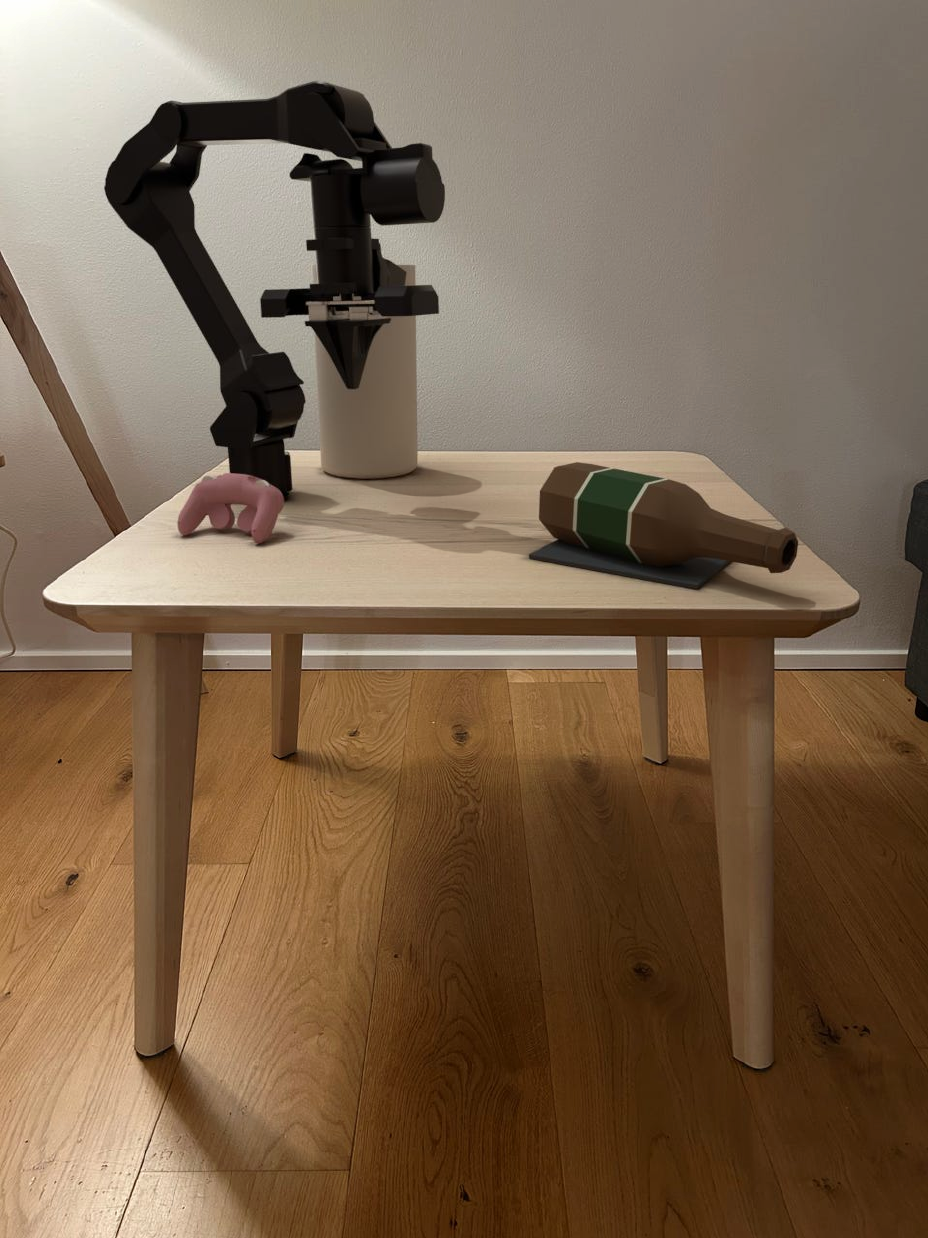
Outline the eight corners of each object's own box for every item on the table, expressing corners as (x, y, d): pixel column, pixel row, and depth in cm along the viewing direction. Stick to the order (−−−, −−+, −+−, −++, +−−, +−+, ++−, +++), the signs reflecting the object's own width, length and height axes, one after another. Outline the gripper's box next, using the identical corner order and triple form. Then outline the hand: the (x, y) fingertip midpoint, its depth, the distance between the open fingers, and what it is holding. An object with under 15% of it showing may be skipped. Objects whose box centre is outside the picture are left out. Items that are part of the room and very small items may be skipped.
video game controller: (281, 551, 93) (293, 482, 94) (259, 542, 89) (271, 470, 89) (196, 541, 96) (208, 475, 97) (170, 532, 92) (182, 462, 92)
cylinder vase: (301, 471, 121) (289, 264, 112) (364, 456, 130) (358, 264, 122) (375, 484, 114) (369, 265, 105) (436, 467, 124) (435, 265, 115)
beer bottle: (550, 449, 88) (784, 494, 72) (597, 470, 94) (824, 516, 77) (525, 529, 89) (752, 592, 72) (574, 545, 94) (794, 606, 78)
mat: (528, 558, 86) (528, 554, 86) (584, 529, 96) (584, 525, 96) (697, 589, 79) (697, 585, 78) (739, 554, 88) (740, 550, 88)
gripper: (463, 225, 96) (467, 382, 101) (316, 234, 104) (327, 379, 110) (404, 222, 86) (412, 395, 92) (249, 232, 95) (264, 389, 100)
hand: (353, 388), depth 99 cm, fingers closed
